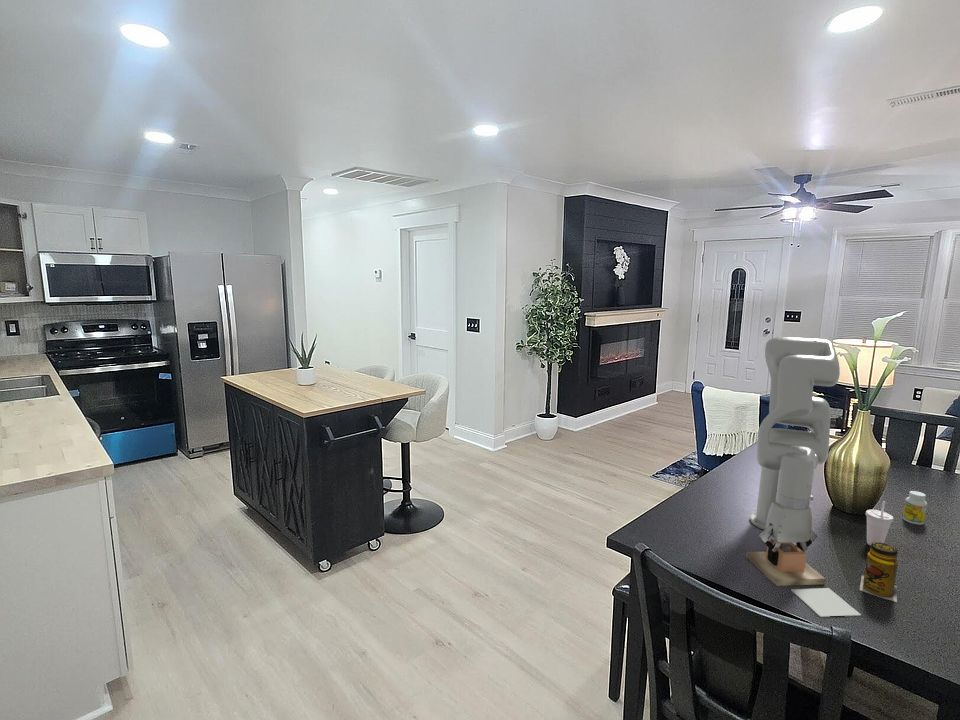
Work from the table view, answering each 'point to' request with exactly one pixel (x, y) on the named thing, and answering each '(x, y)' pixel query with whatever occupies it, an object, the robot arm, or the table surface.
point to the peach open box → (790, 559)
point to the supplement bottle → (915, 508)
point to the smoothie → (877, 525)
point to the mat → (825, 602)
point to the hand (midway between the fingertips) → (784, 561)
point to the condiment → (881, 571)
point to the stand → (785, 578)
